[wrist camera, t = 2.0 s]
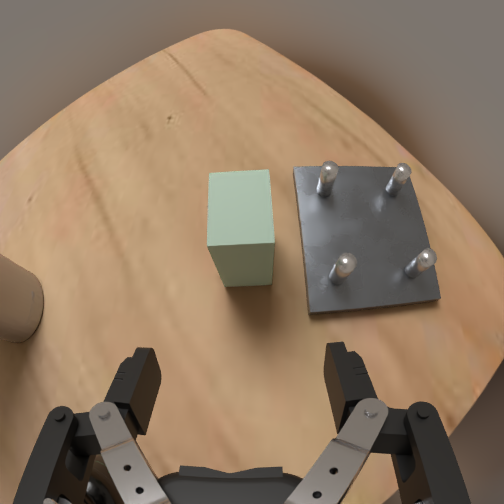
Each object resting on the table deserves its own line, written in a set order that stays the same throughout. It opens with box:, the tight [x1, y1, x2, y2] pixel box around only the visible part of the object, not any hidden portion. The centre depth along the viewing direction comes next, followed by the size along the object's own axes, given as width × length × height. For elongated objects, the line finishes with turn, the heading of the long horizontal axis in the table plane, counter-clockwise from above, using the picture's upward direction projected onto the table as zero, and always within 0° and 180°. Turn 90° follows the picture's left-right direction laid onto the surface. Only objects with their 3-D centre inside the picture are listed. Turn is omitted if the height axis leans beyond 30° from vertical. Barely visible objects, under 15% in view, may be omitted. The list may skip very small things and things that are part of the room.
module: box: [207, 170, 275, 287], centre depth 27 cm, size 4×6×10 cm
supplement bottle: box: [83, 454, 125, 504], centre depth 17 cm, size 7×7×12 cm
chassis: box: [293, 161, 441, 315], centre depth 29 cm, size 14×16×5 cm
